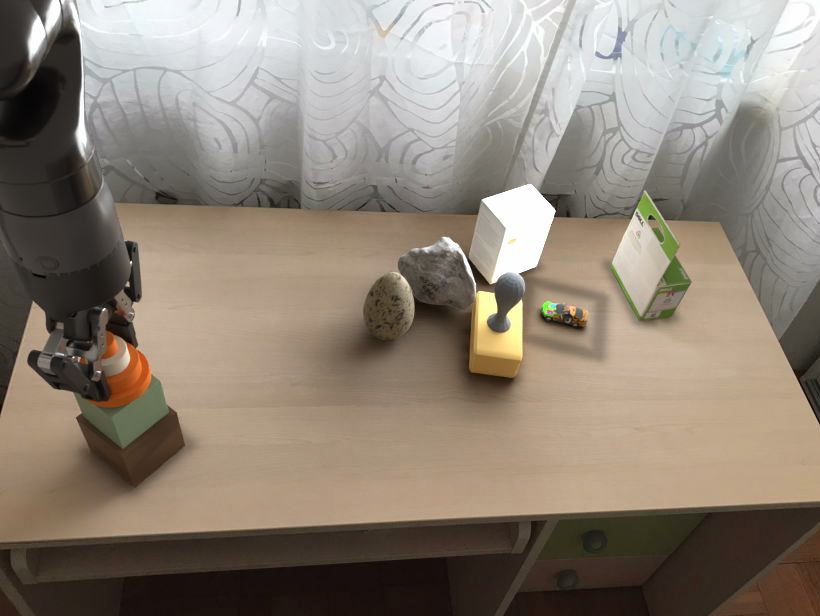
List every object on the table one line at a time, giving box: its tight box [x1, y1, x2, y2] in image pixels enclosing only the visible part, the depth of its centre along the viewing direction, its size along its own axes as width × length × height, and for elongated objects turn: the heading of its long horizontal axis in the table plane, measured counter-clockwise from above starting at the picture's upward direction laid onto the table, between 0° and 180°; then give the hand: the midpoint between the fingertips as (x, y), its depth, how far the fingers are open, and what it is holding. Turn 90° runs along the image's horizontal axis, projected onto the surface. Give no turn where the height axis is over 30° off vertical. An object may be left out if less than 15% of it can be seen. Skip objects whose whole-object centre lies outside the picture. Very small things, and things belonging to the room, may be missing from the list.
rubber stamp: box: [468, 272, 526, 379], centre depth 88 cm, size 10×6×12 cm, turn 177°
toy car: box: [540, 301, 588, 329], centre depth 96 cm, size 3×6×2 cm, turn 80°
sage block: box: [72, 373, 169, 449], centre depth 69 cm, size 5×5×5 cm
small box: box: [468, 183, 556, 285], centre depth 97 cm, size 8×6×10 cm
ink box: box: [609, 189, 693, 321], centre depth 96 cm, size 10×5×14 cm, turn 16°
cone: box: [78, 331, 152, 407], centre depth 64 cm, size 6×6×6 cm
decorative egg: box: [362, 271, 415, 341], centre depth 87 cm, size 6×6×10 cm
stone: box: [397, 236, 477, 311], centre depth 91 cm, size 9×7×10 cm
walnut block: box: [75, 404, 186, 489], centre depth 74 cm, size 6×6×6 cm
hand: (111, 371), depth 66 cm, fingers closed on cone, 5 cm apart
